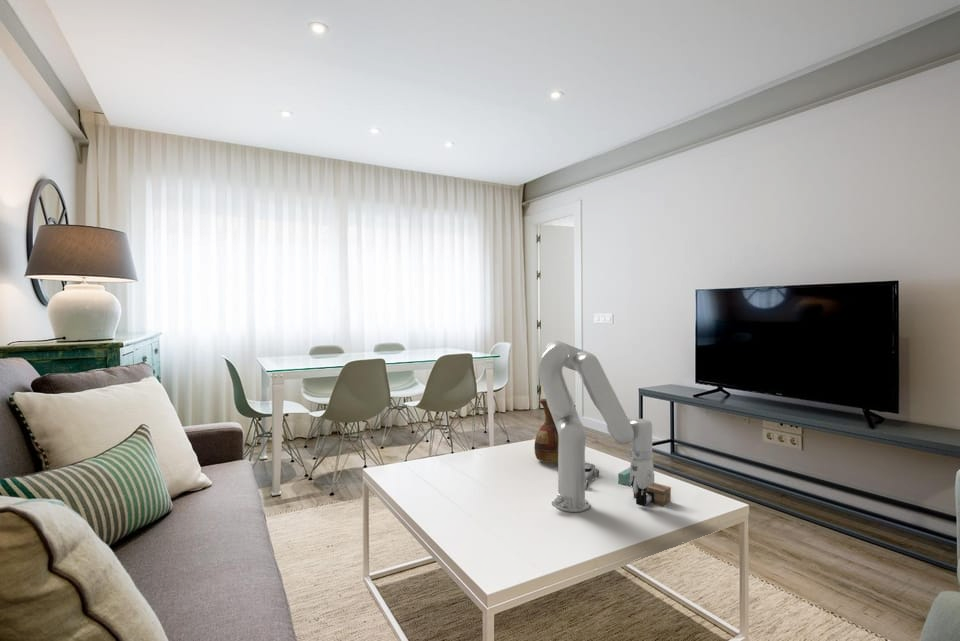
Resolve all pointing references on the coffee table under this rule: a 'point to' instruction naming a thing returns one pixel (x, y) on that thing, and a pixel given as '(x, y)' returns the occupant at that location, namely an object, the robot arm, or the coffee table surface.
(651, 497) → the axle
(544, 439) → the ceramic pitcher
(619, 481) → the v block
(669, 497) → the wooden bridge block
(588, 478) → the car model
